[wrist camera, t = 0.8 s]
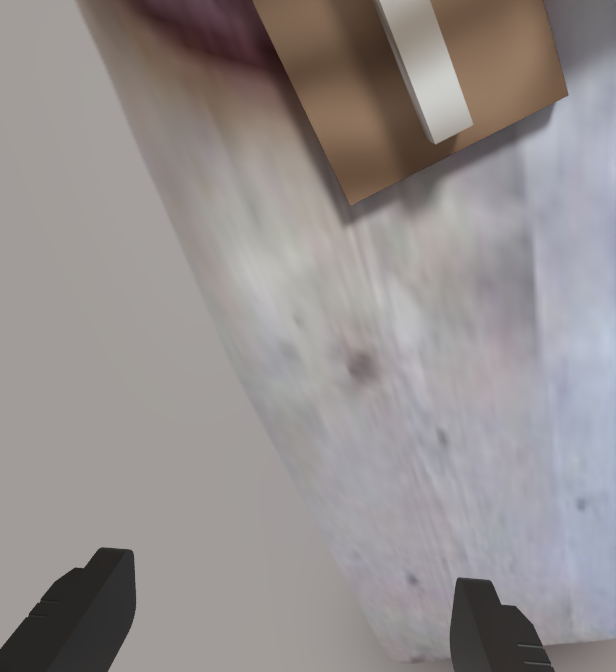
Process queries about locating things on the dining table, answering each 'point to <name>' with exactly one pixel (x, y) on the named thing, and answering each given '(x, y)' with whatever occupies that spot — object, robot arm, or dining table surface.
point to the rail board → (376, 90)
